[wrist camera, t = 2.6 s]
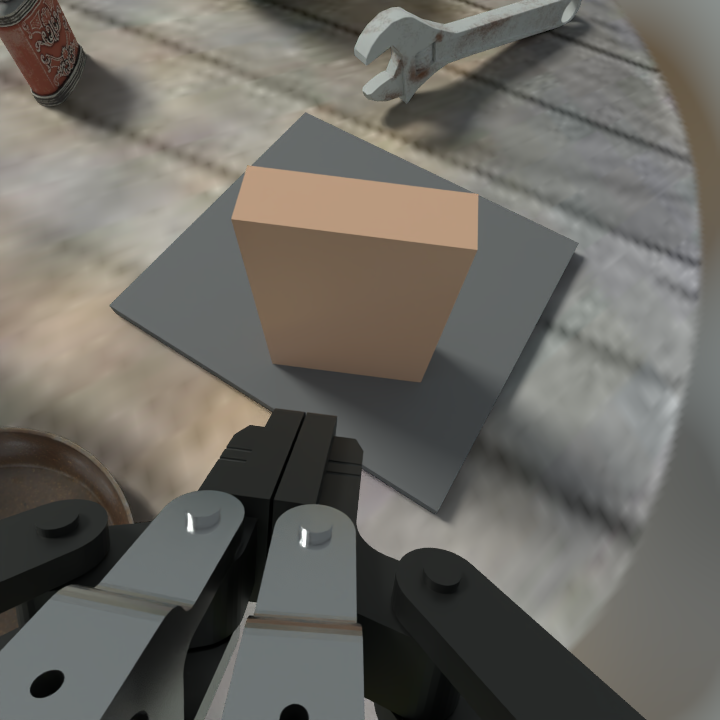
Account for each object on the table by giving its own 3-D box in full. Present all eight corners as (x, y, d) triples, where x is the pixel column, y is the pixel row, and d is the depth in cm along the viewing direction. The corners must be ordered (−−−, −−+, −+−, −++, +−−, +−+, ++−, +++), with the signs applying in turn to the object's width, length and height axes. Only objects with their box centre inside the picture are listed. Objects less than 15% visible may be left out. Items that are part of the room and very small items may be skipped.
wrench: (560, 48, 55) (357, 124, 43) (548, 40, 55) (345, 112, 43) (601, -36, 48) (372, 27, 36) (587, -44, 48) (357, 14, 36)
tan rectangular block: (420, 382, 32) (477, 250, 19) (272, 363, 32) (231, 219, 19) (424, 337, 33) (478, 187, 21) (282, 320, 33) (249, 158, 21)
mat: (115, 312, 34) (109, 305, 33) (306, 122, 43) (305, 112, 42) (434, 514, 29) (437, 511, 28) (573, 251, 38) (578, 243, 37)
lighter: (57, 48, 46) (-11, -83, 37) (92, 51, 46) (33, -79, 37) (28, 104, 43) (-55, -25, 34) (66, 107, 43) (-7, -21, 34)
